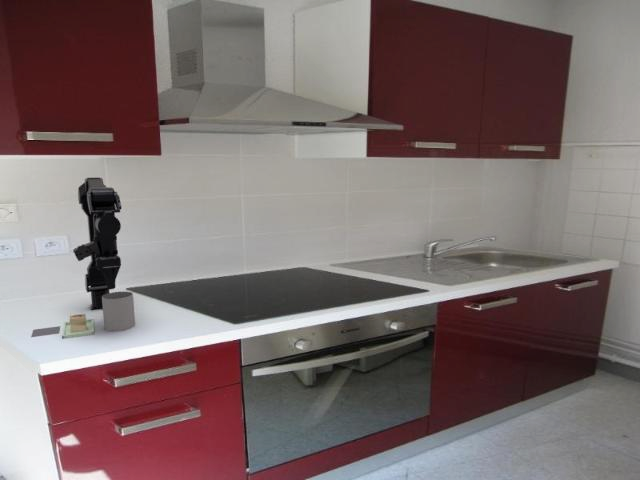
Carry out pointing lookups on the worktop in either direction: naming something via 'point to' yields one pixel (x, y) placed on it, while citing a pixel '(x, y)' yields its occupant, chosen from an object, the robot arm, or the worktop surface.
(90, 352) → the worktop surface
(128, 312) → the cup
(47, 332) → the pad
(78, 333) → the tray
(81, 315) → the letter cube
